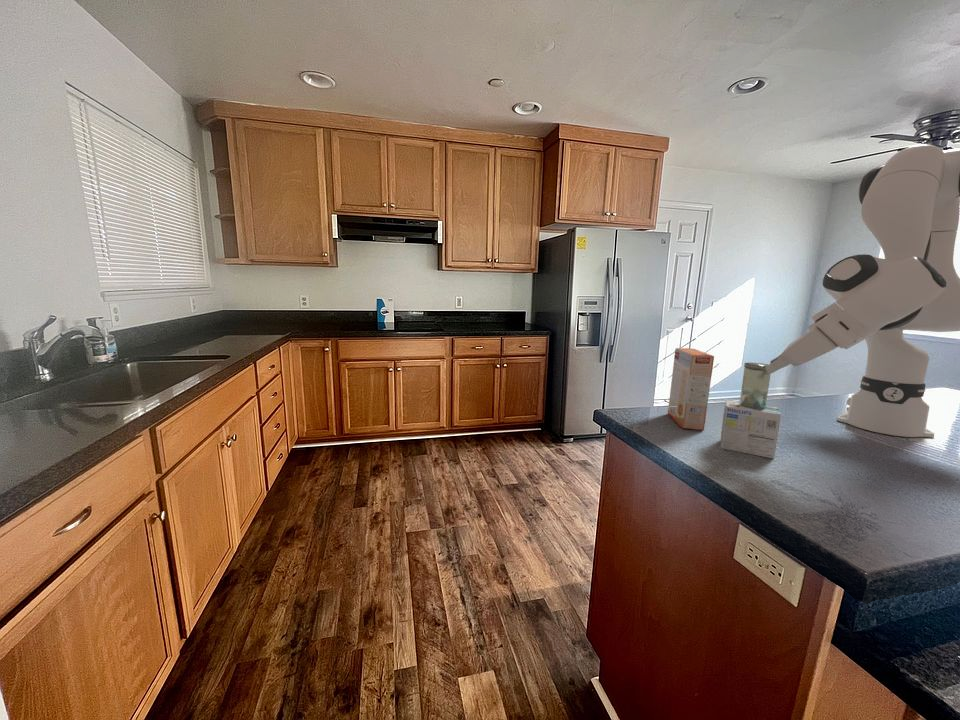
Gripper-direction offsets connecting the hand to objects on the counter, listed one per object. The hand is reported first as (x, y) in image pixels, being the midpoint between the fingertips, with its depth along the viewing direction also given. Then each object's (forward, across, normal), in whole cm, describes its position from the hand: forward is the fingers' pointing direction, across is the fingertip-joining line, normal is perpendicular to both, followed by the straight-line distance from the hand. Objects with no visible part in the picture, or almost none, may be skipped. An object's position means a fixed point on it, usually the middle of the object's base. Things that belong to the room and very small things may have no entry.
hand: (770, 367), depth 85 cm
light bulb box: (+16, 0, +13) cm, 21 cm away
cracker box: (+27, -11, +2) cm, 29 cm away
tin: (+8, 0, +5) cm, 10 cm away
